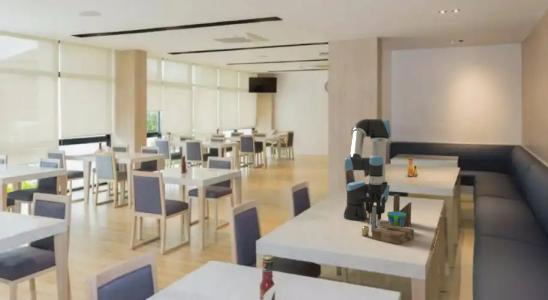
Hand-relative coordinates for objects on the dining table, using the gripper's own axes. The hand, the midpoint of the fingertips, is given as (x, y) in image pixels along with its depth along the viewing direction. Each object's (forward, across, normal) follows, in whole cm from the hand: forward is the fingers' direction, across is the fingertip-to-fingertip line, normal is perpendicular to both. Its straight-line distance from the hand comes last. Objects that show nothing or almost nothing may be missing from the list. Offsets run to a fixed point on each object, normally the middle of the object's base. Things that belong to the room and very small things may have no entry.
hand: (374, 224), depth 253 cm
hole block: (+4, +14, -5) cm, 16 cm away
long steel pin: (+4, 0, 0) cm, 4 cm away
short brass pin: (+4, 0, -10) cm, 11 cm away
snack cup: (+5, +7, +12) cm, 15 cm away
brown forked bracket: (+5, +2, +28) cm, 28 cm away
